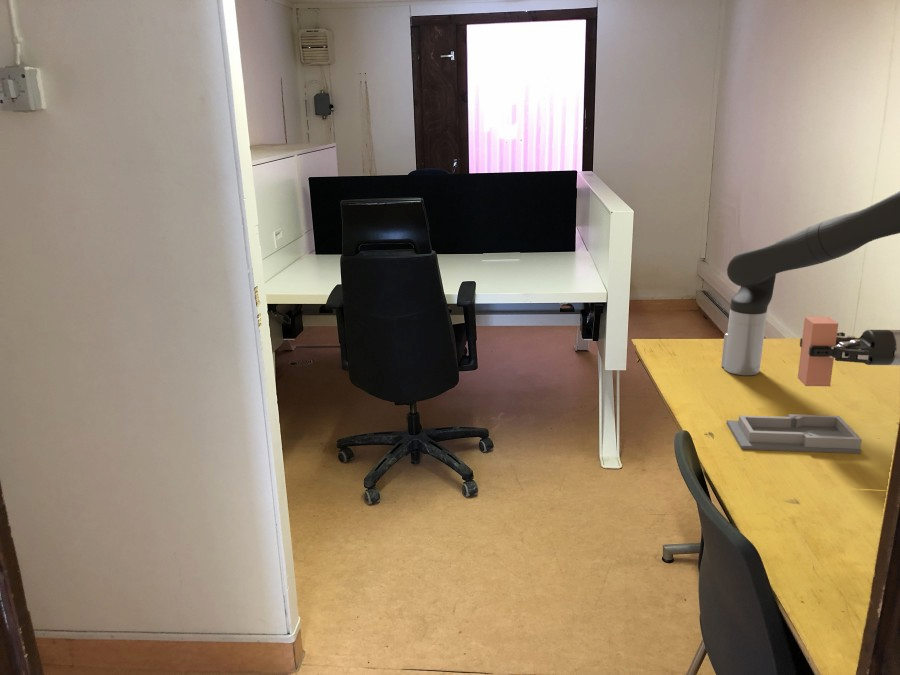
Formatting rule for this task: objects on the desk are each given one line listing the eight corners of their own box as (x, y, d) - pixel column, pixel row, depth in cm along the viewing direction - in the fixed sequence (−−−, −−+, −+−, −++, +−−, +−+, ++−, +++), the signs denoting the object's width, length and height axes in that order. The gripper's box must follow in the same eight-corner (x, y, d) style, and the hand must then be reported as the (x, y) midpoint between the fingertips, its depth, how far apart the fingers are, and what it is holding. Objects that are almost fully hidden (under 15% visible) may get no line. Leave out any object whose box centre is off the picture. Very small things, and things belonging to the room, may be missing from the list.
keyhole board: (836, 427, 164) (838, 414, 163) (860, 453, 152) (862, 440, 151) (726, 423, 167) (727, 411, 166) (741, 449, 155) (742, 436, 154)
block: (805, 386, 156) (813, 323, 152) (797, 377, 161) (804, 316, 156) (830, 386, 155) (838, 323, 151) (821, 378, 160) (829, 316, 156)
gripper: (877, 321, 159) (795, 320, 162) (908, 340, 146) (819, 340, 148) (872, 353, 162) (791, 352, 164) (902, 376, 148) (814, 374, 150)
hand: (805, 346), depth 156 cm, fingers closed on block, 5 cm apart
